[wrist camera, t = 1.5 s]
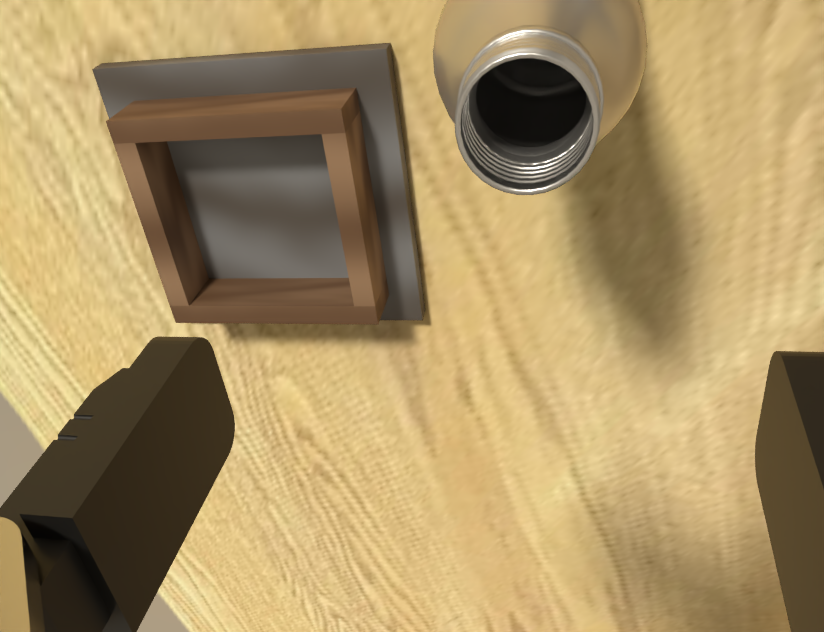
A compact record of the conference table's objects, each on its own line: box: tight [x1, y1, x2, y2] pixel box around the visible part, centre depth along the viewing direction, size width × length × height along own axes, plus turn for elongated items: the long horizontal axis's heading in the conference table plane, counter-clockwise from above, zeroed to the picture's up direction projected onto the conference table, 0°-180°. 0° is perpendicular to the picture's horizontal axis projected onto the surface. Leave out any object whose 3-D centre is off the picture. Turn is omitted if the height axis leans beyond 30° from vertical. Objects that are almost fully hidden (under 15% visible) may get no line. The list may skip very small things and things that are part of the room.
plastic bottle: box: [433, 0, 647, 195], centre depth 27 cm, size 6×7×20 cm
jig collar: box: [92, 43, 425, 324], centre depth 43 cm, size 16×16×4 cm
